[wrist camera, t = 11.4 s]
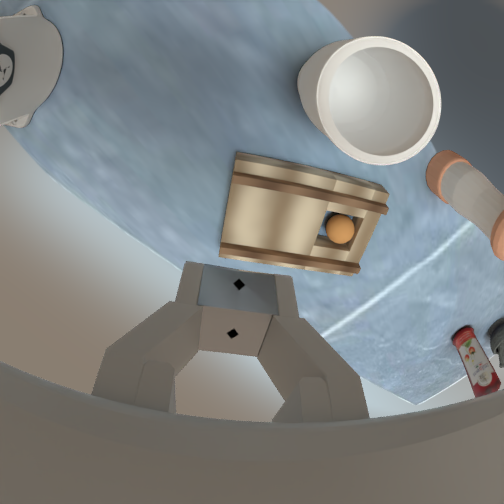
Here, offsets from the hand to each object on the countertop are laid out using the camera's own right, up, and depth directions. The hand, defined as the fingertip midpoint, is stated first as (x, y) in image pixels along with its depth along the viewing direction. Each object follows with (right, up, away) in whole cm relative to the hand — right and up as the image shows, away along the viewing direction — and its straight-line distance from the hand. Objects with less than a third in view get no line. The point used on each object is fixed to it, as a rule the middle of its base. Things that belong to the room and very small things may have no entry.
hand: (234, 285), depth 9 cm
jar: (+10, +21, +21) cm, 31 cm away
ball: (+13, +4, +31) cm, 34 cm away
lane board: (+7, +6, +32) cm, 33 cm away
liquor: (+55, -20, +52) cm, 78 cm away
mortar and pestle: (+71, -21, +52) cm, 91 cm away
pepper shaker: (+29, +13, +27) cm, 42 cm away
